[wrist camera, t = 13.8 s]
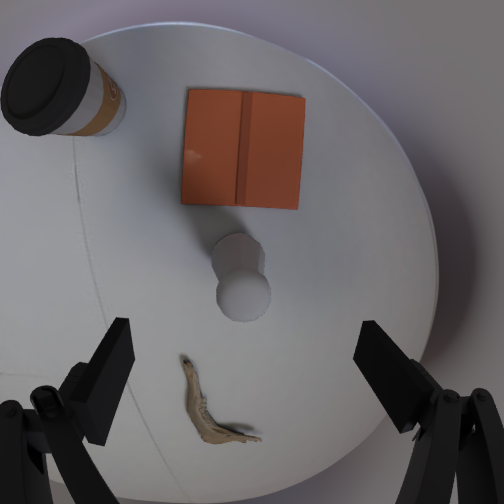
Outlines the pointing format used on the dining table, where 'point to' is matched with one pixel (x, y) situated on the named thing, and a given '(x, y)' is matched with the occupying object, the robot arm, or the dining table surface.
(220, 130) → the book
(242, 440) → the curved driftwood piece
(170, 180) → the dining table surface
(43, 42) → the coffee cup
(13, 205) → the dining table surface
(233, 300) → the salt shaker
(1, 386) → the dining table surface
